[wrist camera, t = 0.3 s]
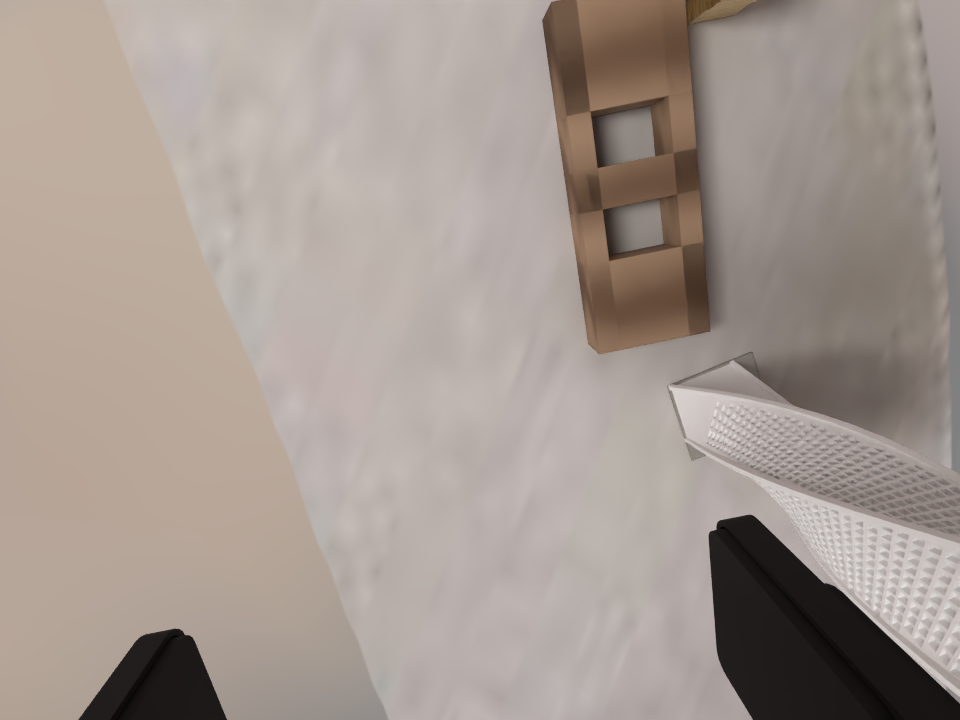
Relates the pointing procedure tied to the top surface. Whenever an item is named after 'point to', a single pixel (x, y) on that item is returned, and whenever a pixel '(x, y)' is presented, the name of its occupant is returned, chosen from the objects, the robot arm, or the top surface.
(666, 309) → the rail
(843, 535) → the skyscraper
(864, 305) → the top surface
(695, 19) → the tan rectangular block
